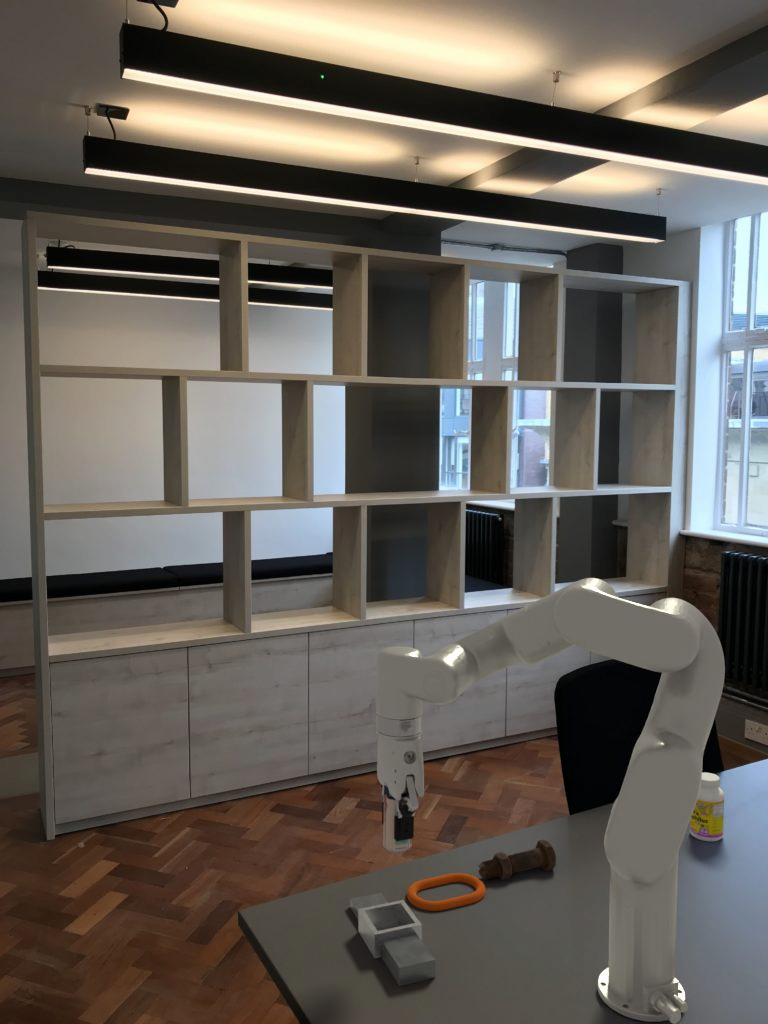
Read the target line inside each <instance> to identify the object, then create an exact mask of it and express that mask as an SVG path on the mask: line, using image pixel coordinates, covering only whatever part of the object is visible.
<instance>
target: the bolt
mask: <svg viewBox="0 0 768 1024" xmlns="http://www.w3.org/2000/svg"><path fill="white" fill-rule="evenodd" d="M556 865H557V857H556V851H555V849H554V847H553V845H552V844H551V843H550V842H549V841H547V840H546V839H539V840H538V841H537V842H536V845H535V848H532V849H529V850H524V851H521V852H516V853H513V854H509V855H507V853H505V852H501V851H500V852H496V853H495V854H494V855H493V857H492V859H488V860H484V861H482V862H481V863H479V864H478V868H479V869H478V875H479V876H480V877H481V878H482V879H483V880H489V879H494V878H498V877H499V878H498V879H499V880H501V879H502V881H504V880H503V879H505V880H508V879H507V878H509V879H510V878H511V876H512V874H513V873H514V874H515V873H517V872H521V871H526V870H530V869H533V868H540V867H542V866H543V867H544V868H545V869H546V870H547V872H549V871H548V870H550V871H553V870H554V868H555V867H556ZM543 867H542V868H543ZM544 868H543V869H544ZM545 869H544V870H545ZM546 870H545V871H546Z"/></svg>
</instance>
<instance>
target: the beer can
mask: <svg viewBox="0 0 768 1024" xmlns="http://www.w3.org/2000/svg"><path fill="white" fill-rule="evenodd" d="M401 796H407V795H406V793H401ZM383 802H384V818H383V825H382V829H383V831H382V837H383V839H382V846H383V848H384V849H386V850H387V851H389V852H391V853H396V854H397V853H404V852H407V851H408V850H410V849H411V848H412V847H413V844H412V839H407V840H401V841H396V840H395V839H394V816H397V814H396V801H395V798H394V797H393V796H392V795H391V794H390V793H389V789H388V786H387V784H386V783H385V782H384V801H383ZM407 802H408V801H401V807H403V806H404V805H406V804H407Z"/></svg>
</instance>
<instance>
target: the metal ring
mask: <svg viewBox="0 0 768 1024" xmlns="http://www.w3.org/2000/svg"><path fill="white" fill-rule="evenodd" d="M452 883H463V884H468V885H471V886H473V888H475V891H474V892H471V893H467V894H463V895H459V896H455V897H451V898H446V899H442V900H436V901H435V900H426V899H424V898H421V897H419V896H418V895H417V893H418V892H420V891H423V890H425V889H426V890H427V889H430V888H434V887H439V886H443V885H448V884H452ZM486 890H487V889H486V885H485V883H484V882H483V881H482V880H481V879H480V878H478V877H476V876H474V875H472V874H469V873H464V872H454V873H453V872H452V873H447V874H443V875H442V874H441V875H438V876H433V877H430V878H423V879H421V880H417V881H415V882H413V883H412V884H411V885H410V886H409V887H408V889H407V890H406V891H407V892H406V898H407V900H408V902H409V903H410V904H411V905H413V906H414V907H416V908H417V909H420V910H423V911H430V912H441V911H446V910H450V909H454V908H458V907H462V906H463V907H464V906H467V905H471V904H474V903H477V902H479V901H481V900H482V899H484V897H485V895H486V892H487V891H486Z"/></svg>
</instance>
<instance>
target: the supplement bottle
mask: <svg viewBox="0 0 768 1024" xmlns="http://www.w3.org/2000/svg"><path fill="white" fill-rule="evenodd" d="M720 784H721V778H720V777H719V776H718V775H717V774H715V773H711V772H702V779H701V787H700V791H699V795H698V798H697V802H696V805H695V808H694V810H693V813H692V816H691V819H690V821H689V833H690V835H691V836H692V837H694V838H695V839H697V840H700V841H704V842H711V843H714V842H718V841H720V840H721V839H723V836H724V823H725V822H724V815H725V792H724V791H723V790H722V788H720V787H719V786H720Z"/></svg>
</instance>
